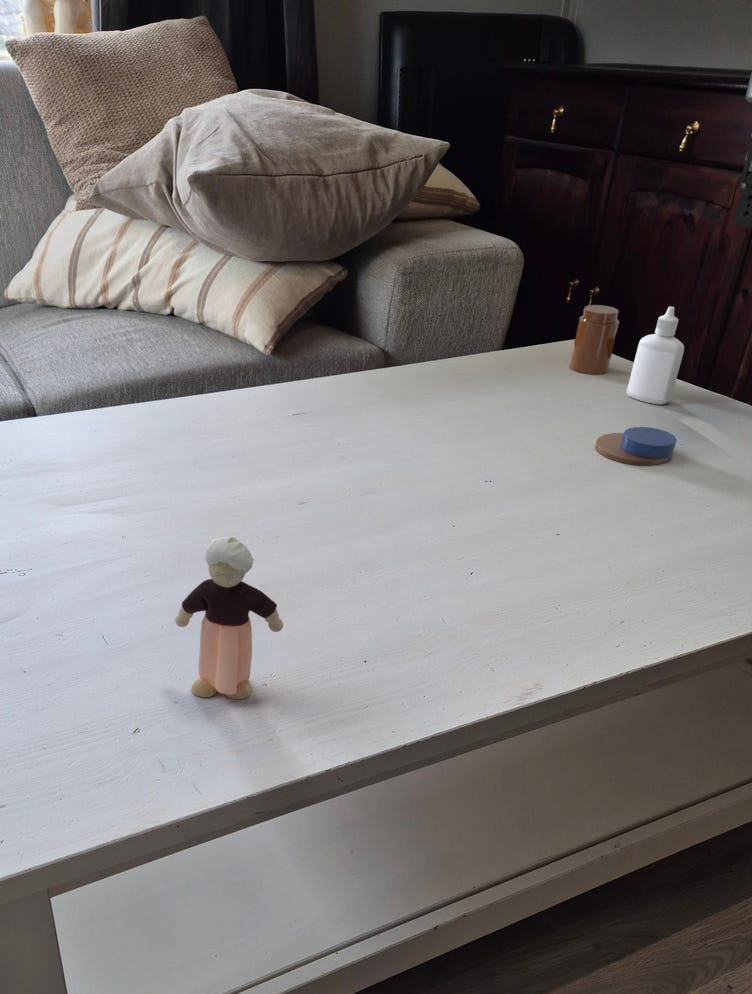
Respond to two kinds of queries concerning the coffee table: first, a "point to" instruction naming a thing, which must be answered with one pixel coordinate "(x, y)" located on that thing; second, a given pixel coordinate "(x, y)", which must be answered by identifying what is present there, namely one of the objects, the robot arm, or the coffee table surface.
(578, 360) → the jar
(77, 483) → the coffee table surface
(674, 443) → the lid
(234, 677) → the grandmother figurine
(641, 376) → the eye dropper bottle
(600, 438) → the coaster
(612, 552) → the coffee table surface
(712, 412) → the coffee table surface
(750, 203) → the robot arm
